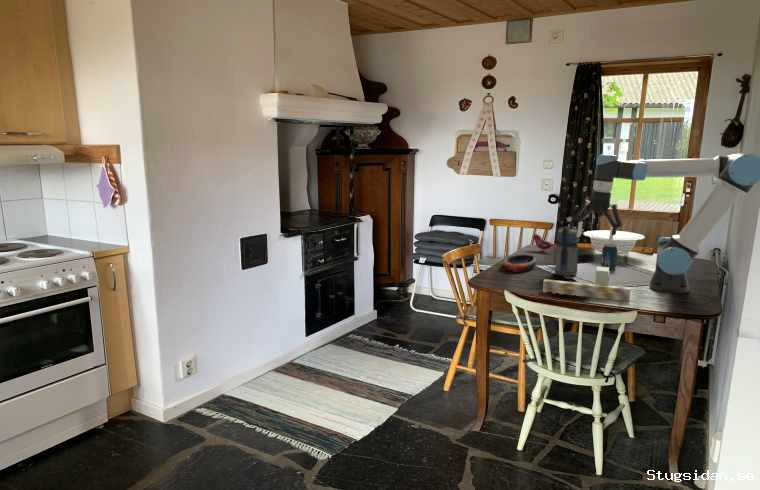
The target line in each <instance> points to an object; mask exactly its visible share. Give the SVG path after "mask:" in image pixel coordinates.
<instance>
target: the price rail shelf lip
mask: <svg viewBox="0 0 760 490" xmlns="http://www.w3.org/2000/svg"><path fill="white" fill-rule="evenodd" d="M542 292H543V293H547V292H552V293H551V294H556V293H559V294H558V295H565V294H566V296H567V295H568V296H575V295H576V296H577V297H586V298H587V297H588V298H594V299H595V298H596V299H605V300H614V301H621V302H623V301H625V302H630V297H631V287H629V286H618V285H609V286H608V285H598V284H595V283H586V282H585V283H584V282H576V281H565V280H555V279H545V278H544V279H543V283H542Z"/></svg>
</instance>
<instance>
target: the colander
mask: <svg viewBox="0 0 760 490" xmlns="http://www.w3.org/2000/svg"><path fill="white" fill-rule="evenodd" d="M609 235H610V230H609V229H608V230H607V229H603V230H602V229H601V230H587V231H584V232H583V236H585V237H589V238H590V243H591V245H592V247H593V248H594V249H595V251H597V252H599V253H602V251H603V247H604V245H608V244H609V245H616V247H617V256H619V255H624V254H628V253H629V252H631V251H632V250H633V249H634V247H635V246H636V243H637V241H641V240H643V239H645V238H646V237H645V235H643V234H641V233H637V232H636V233H635V232H630V231H623V230H616V235H613V239H612V242H611V243H608V240H609Z"/></svg>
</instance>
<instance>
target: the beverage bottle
mask: <svg viewBox="0 0 760 490" xmlns="http://www.w3.org/2000/svg"><path fill="white" fill-rule="evenodd" d="M573 227H574V223H573V222H569V226H568V225H567V226H564V227H559V228H558V229H557V235H556V241H557V242H558V243H556V244H557V245H556V249H555V252H556V254H555V266H554V268H555V269H554V272H555V274H556V275H558V274H559V275H558V276H561V275H564V276H563V277H572V276H571V275H573V276H576V275H577V274H578V273H577V272H578V261H579V247H580V245H579V244H578V243H579V242H580V237H577V231H578V229H576V228H573Z"/></svg>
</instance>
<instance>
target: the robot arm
mask: <svg viewBox="0 0 760 490" xmlns="http://www.w3.org/2000/svg"><path fill="white" fill-rule="evenodd" d="M646 178H714V179H715V180H717V185H716V186H715V187H714V188H713V189H712V191H711V192H710V194H709V195H708V196H707V197H706V199H705V200H704V201H703V202H702V203H701V205H700V206H699V208H698V209H697V210H696V211H695V212H694V214H693V215H692V216H691V218H690V219H689V220H688V222H687V223H686V224H685V226H684V227H683V228H682V229H681V231H680V232H679V233H678V234H675V235H672V236H671V237H669V236H661V237H659V238H658V242H657V250H656V251H657V252H656V259H655V260H656V261H655V270H654V273H653V275H652V277H651V278H650V281H649V286H648V287H649V289H652V290H653V291H657V292H661V293H668V294H686V293H688V292H689V288H690V287H689V286H690V285H689V281H688V279H687V274H686V272H688V270H689V269H690V268H691V266H692V263H693V261H694V259H695V258H696V257H698V254H699V253H700V246H701V244H702V243H703V242H704V241H705V240H706V238H707V237H708V235H709V234H710V233H711V232H712V230H713V229H714V228H715V227H716V225H718V223H719V222H720V221H721V220H722V219H723V217H724V216H725V214H726V213H727V212H728V211H729V209H731V207H732V206H733V205H734V204H735V202H736V200H738V199H739V197H740V196H743V195H747V194H748V193H749V192H750V191H751V190H752V188H753V187H754V185H756V184H758V183H759V182H760V156H759V155H758V154H756V153H753V152H738V153H733V154H732V153H731V154H725V155H717V156H715V157H709V158H679V159H678V158H674V159H665V158H664V159H637V160H636V159H629V160H619V159H618V155H616V154H606V153H601V154H599V155H598V157H597V162H596V167H595V173H594V178H593V179H594V180H593V186H592V189H593V190H592V191H591V199H590V200H588V199H584V200H583V201H582V205H581V206H580V207H579V209H578V210H577V211H576V213H575V214H574V215H573V217H572V219H573V220H574V221H575V222H576V226H575V227H576V229H578V231H577V237H579V238H580V237H581V236H582V230H583V221H584V219H585V218H586V217H588V215H590V214H591V213H593V212H594V213H599V214H603V215H604V216H605V217H606V218H607V220H608V222H609V223H610V225H611V227H610V235H609V240H608V243H611V242H612V239H613V235H616V231H618V230H617V229H618V228H621V227H623V223H622V220H621V217H620V215H619V212H618V204H617V203H615V204H611V197H612V193H611V192H612V191H613V186H614V185H613V183H614V179H623V180H632V181H636V182H637V181H640V182H641V181H645V180H646ZM588 205H589V206H590V207H589V208H588V210H586V211H585V212H584V210H585V208H586V207H587V206H588ZM609 208H610V209H611V210H612V214H613V216H614V217H613V216H612V214H611V213H610V210H609ZM583 212H584V213H583ZM582 213H583V214H582Z"/></svg>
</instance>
